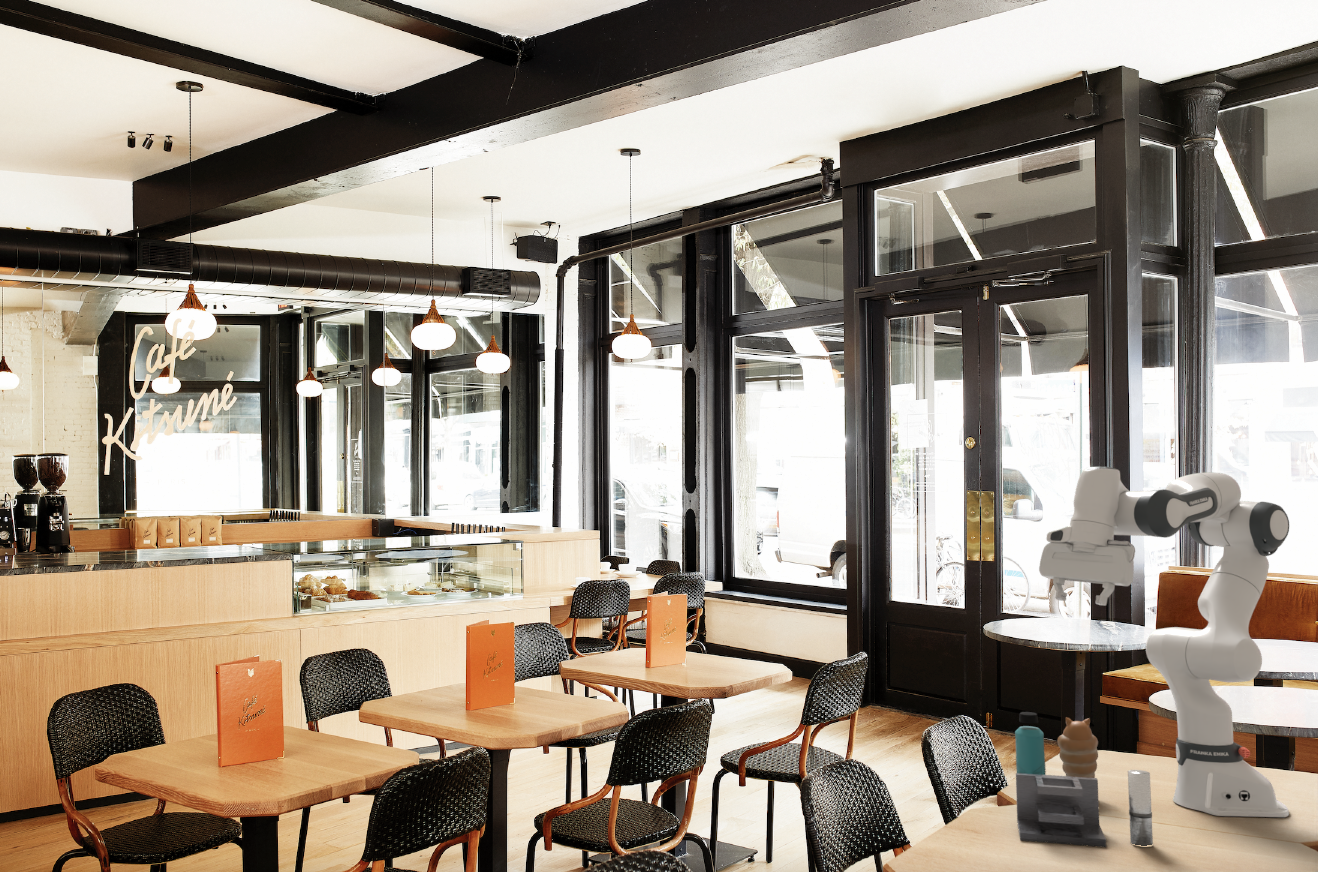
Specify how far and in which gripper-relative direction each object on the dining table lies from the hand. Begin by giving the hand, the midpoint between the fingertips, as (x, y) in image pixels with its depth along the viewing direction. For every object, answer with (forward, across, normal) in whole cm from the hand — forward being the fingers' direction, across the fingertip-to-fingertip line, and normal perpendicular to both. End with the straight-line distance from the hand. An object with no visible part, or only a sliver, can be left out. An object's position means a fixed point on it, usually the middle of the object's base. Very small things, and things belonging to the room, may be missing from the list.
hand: (1080, 602), depth 215 cm
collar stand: (+47, 0, -5) cm, 48 cm away
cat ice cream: (+40, +14, -33) cm, 54 cm away
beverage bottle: (+44, +18, -21) cm, 52 cm away
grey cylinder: (+45, -13, -13) cm, 48 cm away
